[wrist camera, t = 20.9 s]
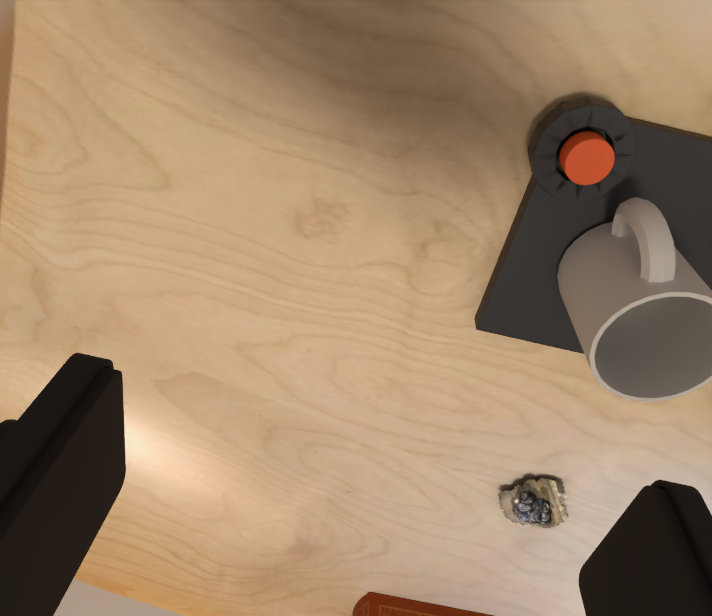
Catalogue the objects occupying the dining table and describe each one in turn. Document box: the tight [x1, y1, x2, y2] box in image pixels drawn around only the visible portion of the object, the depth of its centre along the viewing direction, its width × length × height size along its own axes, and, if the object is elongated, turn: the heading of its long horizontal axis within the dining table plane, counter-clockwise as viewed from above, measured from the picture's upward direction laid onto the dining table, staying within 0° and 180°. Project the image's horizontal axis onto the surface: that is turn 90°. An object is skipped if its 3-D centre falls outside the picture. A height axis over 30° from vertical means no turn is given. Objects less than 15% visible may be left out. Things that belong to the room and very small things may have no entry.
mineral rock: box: [499, 478, 568, 528], centre depth 51 cm, size 7×8×2 cm
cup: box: [557, 197, 712, 402], centre depth 32 cm, size 7×10×9 cm
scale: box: [475, 97, 712, 354], centre depth 36 cm, size 17×15×3 cm
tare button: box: [559, 131, 615, 185], centre depth 31 cm, size 3×3×2 cm
